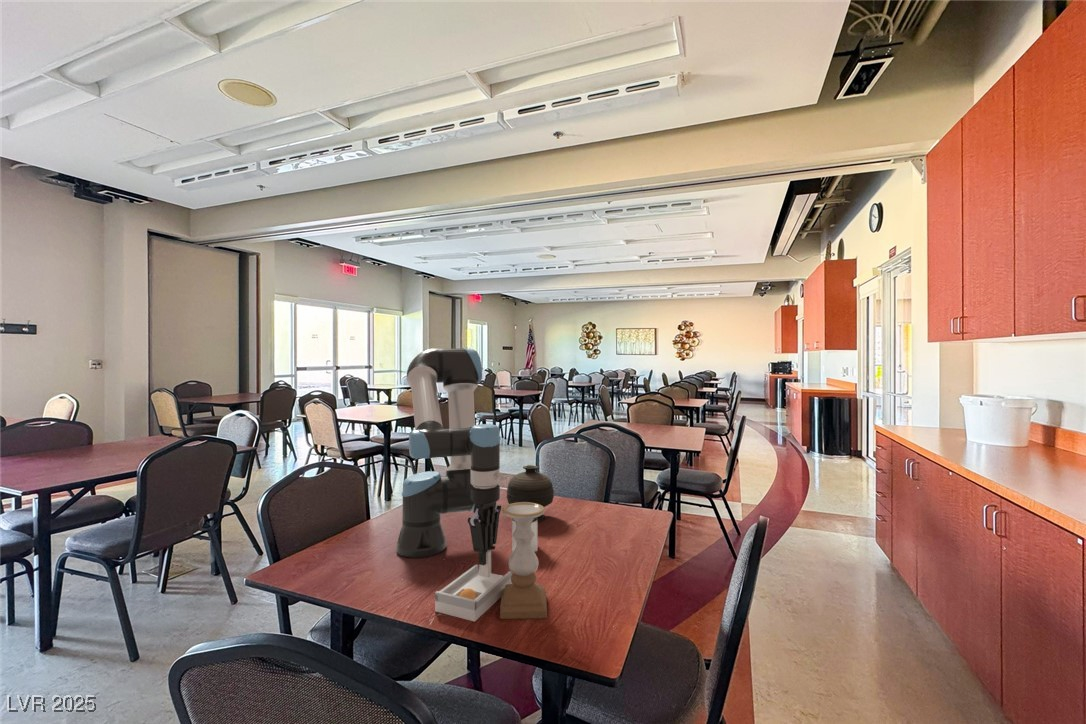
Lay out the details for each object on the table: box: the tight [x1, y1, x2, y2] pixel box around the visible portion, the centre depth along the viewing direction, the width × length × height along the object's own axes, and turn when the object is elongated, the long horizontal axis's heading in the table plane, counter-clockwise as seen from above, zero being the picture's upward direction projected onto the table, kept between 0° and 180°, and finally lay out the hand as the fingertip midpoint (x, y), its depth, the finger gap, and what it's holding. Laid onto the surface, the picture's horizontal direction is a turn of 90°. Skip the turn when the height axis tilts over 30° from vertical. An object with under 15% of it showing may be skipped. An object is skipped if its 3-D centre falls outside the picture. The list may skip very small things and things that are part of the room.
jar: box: [511, 517, 539, 553], centre depth 150 cm, size 9×8×12 cm
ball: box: [460, 588, 476, 600], centre depth 115 cm, size 4×4×4 cm
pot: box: [506, 464, 555, 523], centre depth 179 cm, size 18×18×20 cm
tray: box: [434, 564, 513, 622], centre depth 118 cm, size 11×18×4 cm, turn 156°
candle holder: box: [499, 502, 548, 620], centre depth 115 cm, size 11×11×24 cm
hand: (485, 575), depth 123 cm, fingers closed
